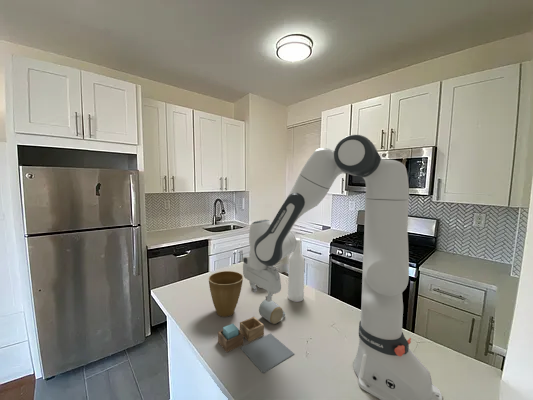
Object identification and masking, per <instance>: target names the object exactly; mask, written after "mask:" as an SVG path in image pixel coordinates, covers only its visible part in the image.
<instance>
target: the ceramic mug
mask: <svg viewBox="0 0 533 400" xmlns="http://www.w3.org/2000/svg"><path fill="white" fill-rule="evenodd" d="M258 314H259V315H260V316H261V317H262V318H263V319H265V320H266V321H268V322H269V323H270V324H272V325H276V324H278V323H279V322H280V321H281V320H282V319H283V318H285V316H286V312H285V311H284V310H283V308H282V307H281V305H279V304H277V302H275V301H274V300H271V301H270V302H268V301H266V298H265V299H263V300H262V301H261V303H260V304H259V307H258Z"/></svg>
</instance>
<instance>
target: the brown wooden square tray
mask: <svg viewBox="0 0 533 400" xmlns="http://www.w3.org/2000/svg"><path fill="white" fill-rule="evenodd" d="M217 342H218V344H219V345H220V346H221V348H222V349H223V350H224V351H225V353H229V352H231V351H233V350H236V349H237V348H239V347H242V346H244V336H243V333H242V332H241V331H240V328H238V336H235V337H233V338H231V339H229V340H227V339H226V338H225V337H224V336H223V329H221V330H218V331H217Z"/></svg>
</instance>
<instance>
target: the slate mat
mask: <svg viewBox="0 0 533 400" xmlns="http://www.w3.org/2000/svg"><path fill="white" fill-rule="evenodd" d="M277 338H278V337H275V336H274V335H273V334H272V333H268V334H266V335H265V336H264V335H263V336H261V337H259V338H257V339H256V340H254V341H251V342H249V343H248V344H245V345H242V346H240V350H242V352H243V353H244V354H245V355H246V356H247V358H248V359H249V360H250V361H251V362H252V363H253V365H255V366H256V368H257V369H258V370H259V371H260V372H261V373H262V374H265V373H267V372H268V371H270V370H271V369H273V368H274V367H276V366H278V365H280V364H281V363H283V362H285V361H286V360H288V359H289V358H291V357H293V356H294V355H295V353H294V352H293V351H292V350H291V349H290V348H289V347H288V346H286V345H285V343H283V342H281V341H280V340H279V339H277Z"/></svg>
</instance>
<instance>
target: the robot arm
mask: <svg viewBox="0 0 533 400" xmlns="http://www.w3.org/2000/svg"><path fill="white" fill-rule="evenodd" d="M341 174H345V175H351V176H356V177H360V178H362V179H363V180H364V182H365V201H364V202H365V203H364V206H365V207H364V229H363V231H364V234H363V254H362V255H363V257H362V277H361V278H362V279H361V283H362V284H361V307H360V309H361V310H360V320H359V323H358V324H359V325H358V338H359V341H358V347H357V351H356V355H355V359H354V361H353V365H352V366H353V370H354V373H355V374H356V376H357V379H358V381H357V382H358V383H357V384H358V387H359V388H360V389H362V390H364V392H367V393H369V394H370V395H372V396H373V397H375V398H377V399H379V400H443V394H442V391H441V390H440V389H439V388H438V387H437V386H436V385H435V384H434V383H433V380H432V375H431V373H430V371H429V369H428V368H427V367H426V366H425V365H424V364H423V362H421V360H420V359H419V358H418V357H417V356H416V355H415V353H414V352H413V351H412V350H411V349H410V348H409V346H410V344H411V343H412V338H411V337H409V338H408V339H407V338H406V337H405V334H404V332H403V317H404V315H403V314H404V302H403V292H404V291H405V290H406V289H407V286H408V284H409V280H410V279H409V278H410V265H409V264H410V263H409V261H410V259H409V257H410V255H409V235H408V234H409V233H408V225H409V224H408V223H409V221H408V220H409V203H410V187H409V186H410V185H409V184H410V183H409V175H408V170H407V168H406V165H405V164H404V163H403V162H401V161H399V160H396V159H384V158H381V155H380V154H379V152H378V149H377V147H376V145H375V144H374V143H373V142H372V141H371V140H370V139H369V138H368V137H366V136H364V135H361V134H349V135H347V136H345V137H343V138H342V139H341V140H339V141H338V143H337V144H336V146H335V147H334V150H333V149H330V148H325V147H320V148H317V149H316V150H314V152H313V153H311V155H310V157H309V158H308V159H307V160H306V162H305V164H304V165H303V167H302V169H301V171H300V173H299V174H298V177H297V178H296V181H295V182H294V185H293V187H292V189H291V191H289V194H288V196H286V199H285V201H284V202H283V204H282V205H281V207H280V209H279V210H278V212H277V213H276V215H275V216H274V219H273V220H272V221H271V220H269V219H260V220H256V221H254V222H252V223H251V224H250V227H249V232H248V233H249V234H248V236H249V238H248V241H249V243H248V244H249V247H250V249H249V253H248V255H246V256H243V257H242V262H243V264H242V275H243V278H245V280H247V281H249V286H250V289H251V291H250V292H252V293H254V294H255V293H257V292H258V286H260V287H261V288H260V289H263V290H265V291H266V293H267V295H265V299H266V301H268V302H270V301H271V300H272V299H273V295H276V294H278V293H280V292H281V291H282V282H281V275H280V272H279V271H278V269H277V267H275V266H276V265H277V263H279V262H280V261H282V260H283V259H285V258H286V257H287V256H290V255H291V254H292V253H293V251H294V250H295V248H296V239H295V238H296V237H295V234H293V232H291V230H292V229H293V227H294V225H295V224H296V222H297V221H298V220H299V219H300V218H301V217H302V216H303V215H304V214H305V213H307V212H308V211H310V210H312V209H314V208H315V207H317V206H318V205H319V204H320V203H321V202H322V201H323V200H324V198H325V197H326V196H327V194H328V192H329V191H330V189H331V188H332V186H333V184H334V182H335V180H336V179H337V178H338V177H339V176H340V175H341ZM257 285H258V286H257ZM272 301H273V300H272Z"/></svg>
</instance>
